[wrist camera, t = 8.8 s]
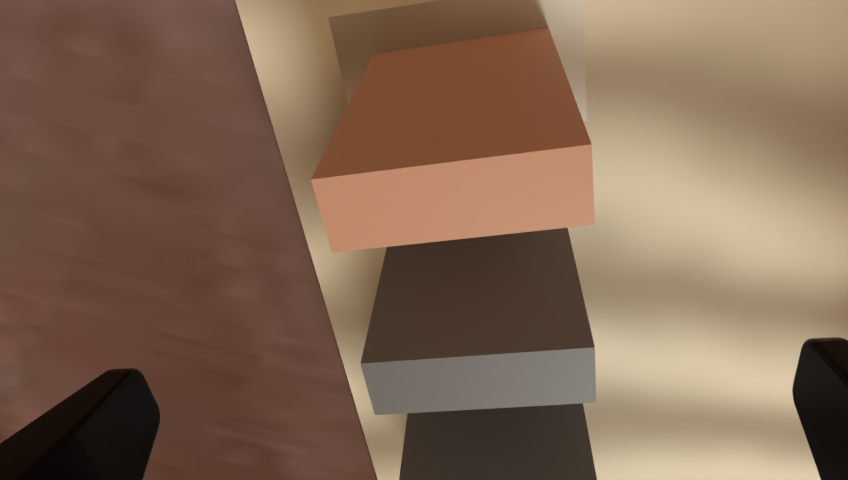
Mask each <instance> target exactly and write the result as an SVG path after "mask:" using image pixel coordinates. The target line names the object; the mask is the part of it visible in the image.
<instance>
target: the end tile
mask: <svg viewBox="0 0 848 480" xmlns="http://www.w3.org/2000/svg"><path fill="white" fill-rule="evenodd" d="M311 182H312V186H313V189H314V192H315V196H316V199H317V203H318V206H319V210H320V213H321V216H322V220H323V223H324V227H325V230H326V234H327V237H328V240H329V244H330V247H331V251H332V253H335V252H344V251H353V250H363V249H372V248H381V247H391V246H400V245H409V244H419V243H428V242H438V241H447V240H456V239H466V238H475V237H484V236H494V235H503V234H512V233H522V232H531V231H541V230H550V229H559V228H569V227H578V226H587V225H595V215H594V189H593V163H592V144H591V141H590V138H589V135H588V133H587V130H586V127H585V125H584V122H583V119H582V116H581V114H580V111H579V108H578V106H577V103H576V100H575V98H574V95H573V92H572V89H571V87H570V84H569V81H568V79H567V76H566V73H565V70H564V68H563V65H562V62H561V60H560V57H559V54H558V51H557V49H556V46H555V43H554V41H553V38H552V35H551V32H550V30H549V28H543V29H536V30H530V31H523V32H517V33H510V34H504V35H497V36H491V37H484V38H478V39H471V40H465V41H458V42H452V43H445V44H439V45H432V46H426V47H419V48H413V49H406V50H400V51H393V52H387V53H380V54H374V55H372V57H371V59H370V61H369V63H368V65H367V67H366V69H365V71H364V73H363V75H362V77H361V79H360V81H359V83H358V85H357V87H356V89H355V91H354V93H353V95H352V97H351V99H350V101H349V103H348V105H347V107H346V109H345V111H344V113H343V115H342V118H341V120H340V122H339V124H338V126H337V128H336V130H335V132H334V134H333V136H332V138H331V140H330V142H329V144H328V146H327V148H326V150H325V152H324V154H323V156H322V158H321V160H320V162H319V164H318V166H317V168H316V170H315V172H314V174H313V176H312V178H311Z"/></svg>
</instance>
